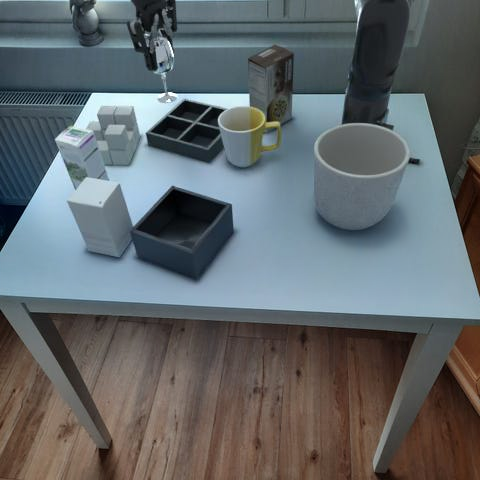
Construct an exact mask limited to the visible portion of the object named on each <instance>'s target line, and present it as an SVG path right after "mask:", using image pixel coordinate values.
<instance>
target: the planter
mask: <svg viewBox="0 0 480 480" xmlns="http://www.w3.org/2000/svg"><path fill="white" fill-rule="evenodd" d="M409 158H411V149H410V146H409V144H408V142H407V141H406V140H405V138H403V137H402V136H401V135H400V134H399V133H397V132H395V131H394V130H393V131H392V130H390V129H387V128H385V127H382V126H378V125H374V124H367V123H350V124H343V125H341V124H339V125H335V126H333V127H331V128H329V129H327V130H325V131H323V132H322V133H321V134H320V135H319V136H318V138H317V139H316V140H315V143H314V147H313V199H314V203H315V206H316V209H317V211H318V213H319V214H320V216H321V217H322V218H323V220H324V221H326V222H327V223H329V224H330V225H331V226H334V227H336V228H338V229H342V230H346V231H359V230H364V229H368V228H370V227H373V226H374V225H376V224H378V223H379V222H380V221H381V220H383V219H384V218H385V216H386V215H388V213H389V211H390V209H391V208H392V206H393V203H394V201H395V200H396V197H397V193H398V190H399V188H400V185H401V183H402V180H403V178H404V174H405V171H406V169H407V166H408V164H409V162H408V161H409Z"/></svg>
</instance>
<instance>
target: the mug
mask: <svg viewBox="0 0 480 480" xmlns="http://www.w3.org/2000/svg"><path fill="white" fill-rule="evenodd" d="M218 124H219V129H220V133H221V137H222V141H223V145H224V148H223V149H224V152H225V156H226V160H227V161H228V162H229V163H231V164H232V165H233V166H235V167H237V168H248V167H249V168H250V167H251V166H252V165H254V164H255V163H256V162H257V161H258V160H259V159H260V156H261V153H266V152H270V151H275V150H277V149H279V148H280V146H281V142H282V126H281V125H282V124H281V125H280V123H279V122H277V121H275V122H267V123H265V115H264V114H263V113H262V112H261V111H260V110H258V109H256V108H254V107H250V105H249V106H248V105H237V106H233V107H229V108H227V110H225V111H224V112H222V113H221V114H220V116H219V117H218ZM272 127H276V129H277V140H276V142H275V143H274V144H269V145H262V144H263V138H264V133H265V132H264V131H265V130H266V129H268V128H272Z"/></svg>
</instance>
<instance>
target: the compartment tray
mask: <svg viewBox="0 0 480 480" xmlns="http://www.w3.org/2000/svg"><path fill="white" fill-rule="evenodd" d="M227 109H228V108H226V107H222V106H218V105H213V104H209V103H205V102H202V101H197V100H193V99H189V98H185V97H184V98H182V99H181V100H180V101H179V102H178V103H177V104H175V106H173V107H172V108H171V109H170V110H169V111H168V112H167V113H166V114H165V115H164V116H162V117H161V119H159V120H158V121H157V122H156V123H155V124H153V126H151V127H150V128H149V129H148V130H147V131H146V132H145V136H146V142H147V145H148V146H149V147H153V148H155V149H159V150H162V151H166V152H170V153H174V154H177V155H180V156H183V157H187V158H190V159H195V160H197V161H201V162H205V163H209V164H210V163H211V162H212V161H213V160H214V159H215V158H216V157H217V156H218V155H219V153H221V151H222V150H223V149H224V145H223V141H222V137H221V133H220V129H219V124H218V117H219V116H220V114H221V113H222V112H224V111H225V110H227Z"/></svg>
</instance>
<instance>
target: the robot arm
mask: <svg viewBox="0 0 480 480" xmlns="http://www.w3.org/2000/svg"><path fill="white" fill-rule="evenodd" d="M353 2H354V12H355V18H356V33H355V39H354V47H353V52H352V58H351V59H350V60H349V65H348V72H347V78H346V79H347V80H346V87H345V94H344V102H343V108H342V115H341V121H340V122H341V123H340V125H343V124H350V123H367V124H374V125H378V126H382V127H385V128H387V129H390V130H392V131H394V127H395V125H394V124H389V123H387V121H388V117H389V112H390V108H388V107H389V104H390V103H389V102H390V97H391V93H392V88H393V85H394V84H393V83H394V79H395V75H396V72H397V69H398V68H399V66H400V63H401V59H402V55H403V51H404V47H405V43H406V40H407V35H408V31H409V27H410V21H411V6H410V2H409V0H354V1H353ZM130 3H132V4H133V5H134V7H135V18H134V19H133V20H127V22H126V27H127V30H128V33H129V36H130V40H131V42H132V46H133V48H134V51H135V52H136V53H140V54H143V57H144V62H145V68H146V70H148V71H151V72H152V71H154V72H155V71H156V70H157V69H158V68H157V62H156V57H155V52H154V41H155V40H156V38H157V37H158V33H159V35H160V37H164V38H167V39H168V41H169V43H170V46H171V49H172V52H173V56H174V57H175V54H174V53H175V52H174V51H175V50H174V44H173V38H174V33H177V32H178V19H177V1H176V0H130ZM170 20H171V22H170ZM146 32H147V33H149V34H147V33H146ZM148 40H149V46H147V44H146V42H147V41H148ZM154 72H153V73H154ZM420 162H421V158H412V157H410V158H409V161H408V163H413V164H419V163H420Z"/></svg>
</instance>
